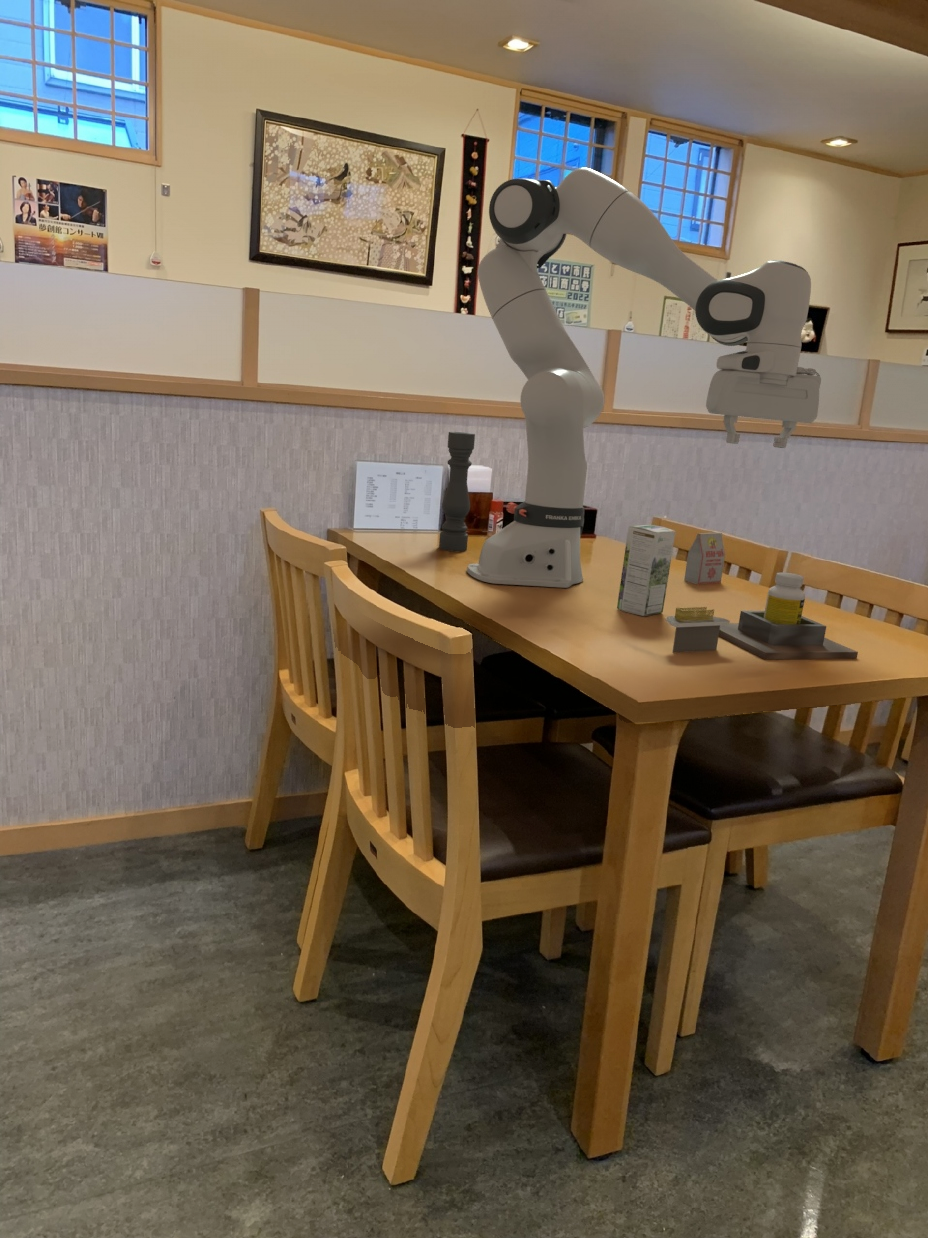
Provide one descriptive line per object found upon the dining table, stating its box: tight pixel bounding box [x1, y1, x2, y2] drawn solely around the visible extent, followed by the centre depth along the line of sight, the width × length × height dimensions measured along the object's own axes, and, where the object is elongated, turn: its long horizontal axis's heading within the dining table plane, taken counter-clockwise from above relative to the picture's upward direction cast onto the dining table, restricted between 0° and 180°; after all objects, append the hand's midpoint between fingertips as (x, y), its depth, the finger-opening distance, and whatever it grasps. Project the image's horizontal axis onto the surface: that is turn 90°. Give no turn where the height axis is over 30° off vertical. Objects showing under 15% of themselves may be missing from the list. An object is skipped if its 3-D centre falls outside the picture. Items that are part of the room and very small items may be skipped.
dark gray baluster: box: [438, 431, 476, 552], centre depth 193 cm, size 6×6×25 cm
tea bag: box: [683, 532, 726, 585], centre depth 182 cm, size 4×7×10 cm, turn 122°
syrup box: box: [616, 524, 676, 617], centre depth 150 cm, size 6×6×14 cm
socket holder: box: [719, 610, 859, 660], centre depth 138 cm, size 16×16×4 cm
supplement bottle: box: [764, 572, 806, 624], centre depth 137 cm, size 5×5×10 cm
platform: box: [665, 606, 731, 654], centre depth 130 cm, size 12×18×7 cm, turn 115°
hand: (755, 445), depth 156 cm, fingers open, 8 cm apart
